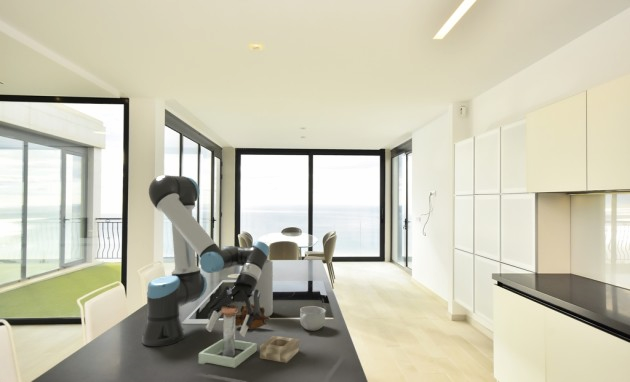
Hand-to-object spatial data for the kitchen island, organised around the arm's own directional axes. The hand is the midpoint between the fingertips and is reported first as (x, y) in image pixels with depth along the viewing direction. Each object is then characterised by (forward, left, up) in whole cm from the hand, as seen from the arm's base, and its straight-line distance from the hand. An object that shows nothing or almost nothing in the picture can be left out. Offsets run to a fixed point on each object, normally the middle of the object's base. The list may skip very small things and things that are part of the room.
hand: (224, 332), depth 124 cm
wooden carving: (-8, +30, -10) cm, 33 cm away
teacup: (+16, +38, -10) cm, 43 cm away
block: (+16, +9, -10) cm, 21 cm away
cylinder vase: (-14, +48, -10) cm, 51 cm away
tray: (0, +2, -10) cm, 10 cm away
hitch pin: (0, +2, -9) cm, 9 cm away
